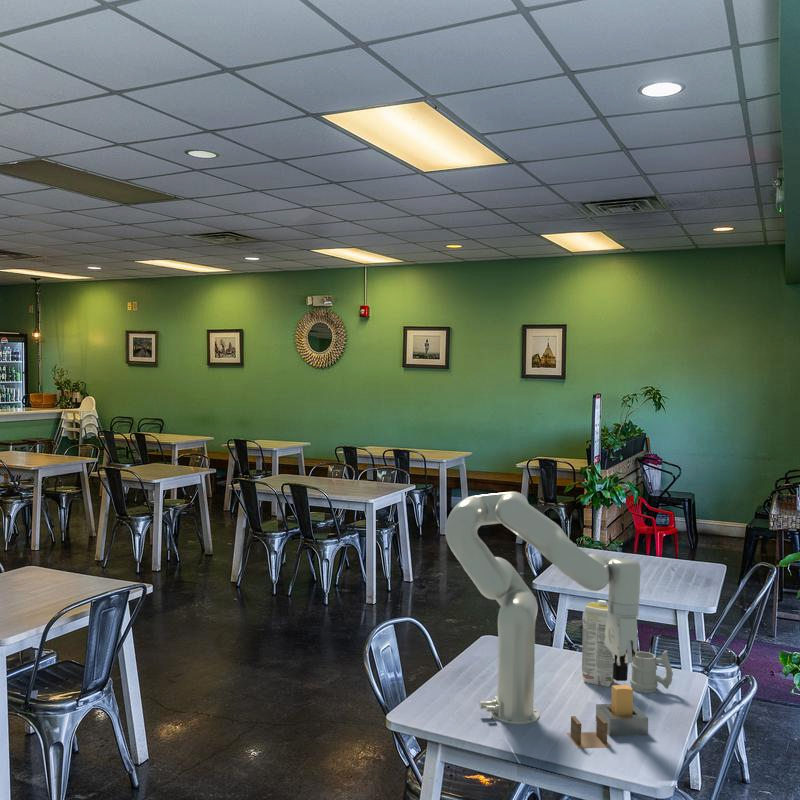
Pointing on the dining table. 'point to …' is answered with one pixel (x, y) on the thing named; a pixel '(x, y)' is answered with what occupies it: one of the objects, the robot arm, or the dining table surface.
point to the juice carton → (596, 646)
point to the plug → (622, 700)
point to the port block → (623, 721)
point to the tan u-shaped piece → (589, 734)
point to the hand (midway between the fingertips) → (619, 679)
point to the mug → (649, 672)
